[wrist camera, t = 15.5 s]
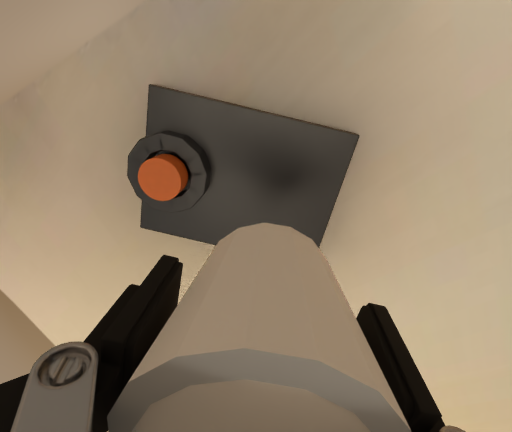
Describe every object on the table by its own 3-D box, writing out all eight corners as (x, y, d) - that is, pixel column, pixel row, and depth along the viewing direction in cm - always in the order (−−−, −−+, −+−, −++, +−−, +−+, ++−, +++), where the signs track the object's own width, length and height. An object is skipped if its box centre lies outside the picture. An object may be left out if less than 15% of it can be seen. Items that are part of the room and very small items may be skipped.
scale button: (146, 188, 22) (136, 195, 20) (149, 149, 21) (138, 153, 19) (185, 197, 22) (178, 205, 21) (190, 158, 21) (183, 163, 19)
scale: (141, 220, 26) (124, 234, 23) (149, 83, 21) (130, 80, 19) (310, 259, 26) (313, 278, 24) (355, 133, 22) (366, 138, 19)
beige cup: (234, 350, 14) (199, 552, 8) (164, 244, 12) (37, 403, 6) (364, 312, 13) (450, 524, 6) (310, 182, 11) (359, 307, 4)
